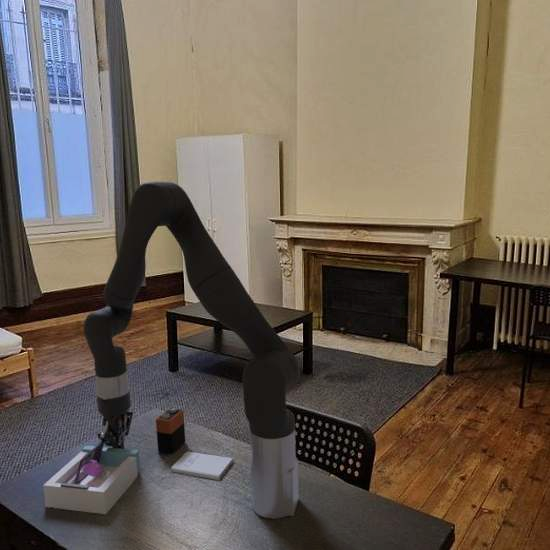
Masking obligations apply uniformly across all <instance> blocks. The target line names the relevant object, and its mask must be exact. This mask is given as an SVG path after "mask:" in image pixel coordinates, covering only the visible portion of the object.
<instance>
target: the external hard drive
mask: <svg viewBox="0 0 550 550" xmlns="http://www.w3.org/2000/svg"><path fill="white" fill-rule="evenodd" d="M233 463H234V458H233V457H232V458H231V457H225V456H221V455H220V456H219V455H212V454H205V453H199V452H192V451H186V452H185V453H184V454H183V455H182V456H181V457H180V458H179V459H178V460H177V461H176V462H175V463H174V464H173V465H172V466H171V468H170V471H171V472H173V473H178V474H184V475H188V476H194V477H201V478H205V479H210V480H211V479H212V480H216V481H220V480H221V478H222V477H223V476H224V475H223V474H225V473H226V472H227V471H226V470H229V468H230V467H231V466H232V465H233ZM230 465H231V466H230Z"/></svg>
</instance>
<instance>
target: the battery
mask: <svg viewBox="0 0 550 550" xmlns="http://www.w3.org/2000/svg"><path fill="white" fill-rule="evenodd" d="M184 414H185V412H184V410H183V409H178V407H177V406H171V407H168V409H167V410H166V411H164V412H163V413H161V415H159V416H158V417H157V418H155V427H156V440H157V452H158V453H163V454H169V455H172V454H174V453H176V451H177V450H179V448H181V447H182V446H183V445H184V444H185V443H186V433H185V432H186V431H185V415H184Z"/></svg>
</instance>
